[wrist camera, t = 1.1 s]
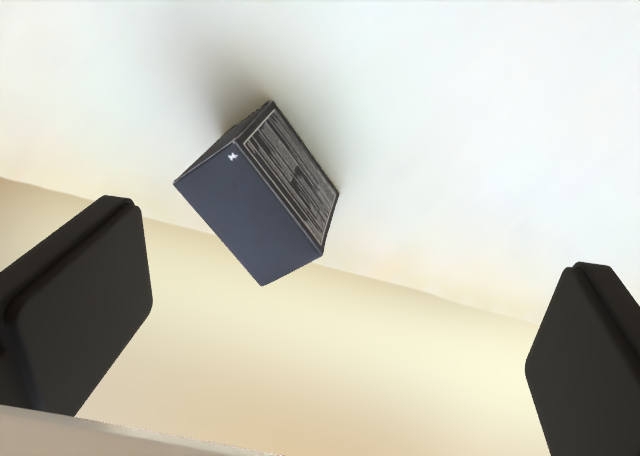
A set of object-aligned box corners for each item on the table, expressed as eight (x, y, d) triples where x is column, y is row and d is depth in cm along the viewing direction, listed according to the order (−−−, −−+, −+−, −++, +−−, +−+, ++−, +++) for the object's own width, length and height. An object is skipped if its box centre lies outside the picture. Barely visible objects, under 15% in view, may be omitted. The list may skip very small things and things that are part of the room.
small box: (216, 137, 41) (165, 183, 32) (272, 97, 38) (233, 134, 29) (286, 226, 44) (258, 291, 35) (342, 195, 42) (326, 255, 33)
